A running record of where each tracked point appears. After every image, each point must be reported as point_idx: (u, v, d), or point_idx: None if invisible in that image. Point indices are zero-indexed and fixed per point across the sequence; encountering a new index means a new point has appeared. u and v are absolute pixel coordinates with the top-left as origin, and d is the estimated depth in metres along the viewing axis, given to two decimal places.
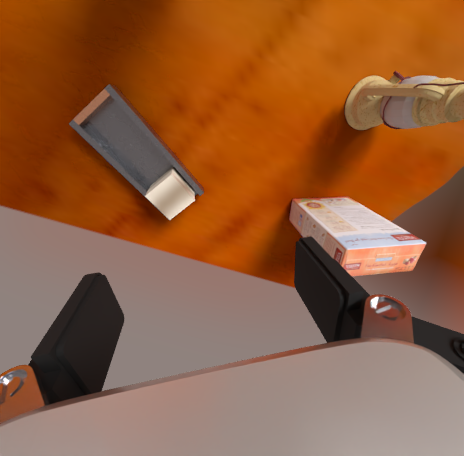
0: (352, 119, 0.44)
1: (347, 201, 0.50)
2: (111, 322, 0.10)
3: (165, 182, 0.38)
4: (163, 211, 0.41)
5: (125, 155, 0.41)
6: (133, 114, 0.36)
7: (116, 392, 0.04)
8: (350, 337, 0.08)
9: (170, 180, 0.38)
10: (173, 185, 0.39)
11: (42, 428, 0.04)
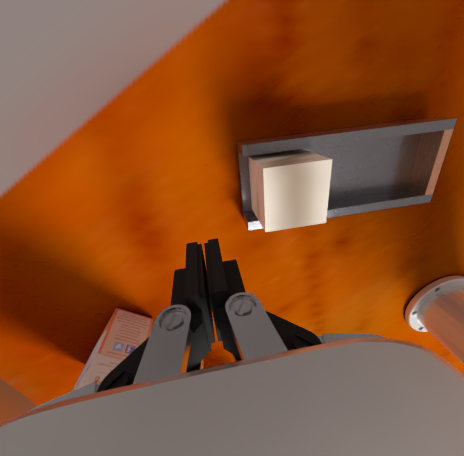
0: None
1: None
2: (208, 285, 0.11)
3: (322, 207, 0.21)
4: (286, 169, 0.19)
5: (359, 147, 0.25)
6: (392, 205, 0.26)
7: (116, 392, 0.04)
8: (221, 332, 0.08)
9: (320, 216, 0.21)
10: (310, 215, 0.21)
11: (42, 428, 0.04)
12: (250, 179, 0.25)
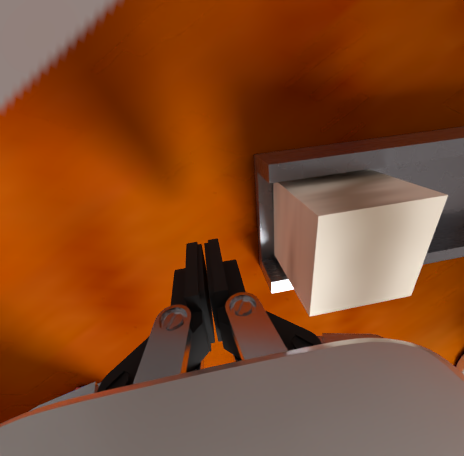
0: None
1: None
2: (208, 285, 0.11)
3: (411, 274, 0.12)
4: (361, 216, 0.10)
5: (444, 162, 0.16)
6: None
7: (116, 392, 0.04)
8: (221, 332, 0.08)
9: (403, 287, 0.12)
10: (388, 287, 0.12)
11: (42, 428, 0.04)
12: (275, 214, 0.15)
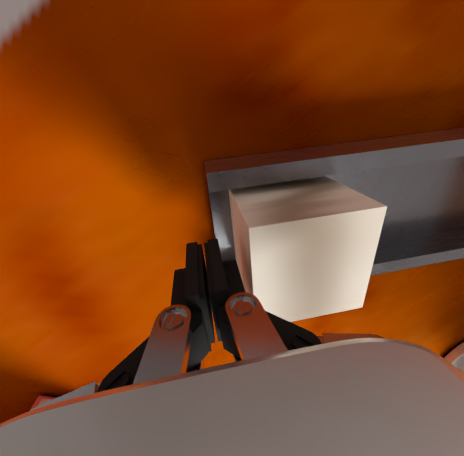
0: None
1: None
2: (208, 285, 0.11)
3: (359, 286, 0.12)
4: (295, 228, 0.09)
5: (403, 169, 0.16)
6: (449, 257, 0.17)
7: (116, 392, 0.04)
8: (221, 332, 0.08)
9: (353, 299, 0.12)
10: (336, 299, 0.12)
11: (42, 428, 0.04)
12: (232, 221, 0.15)
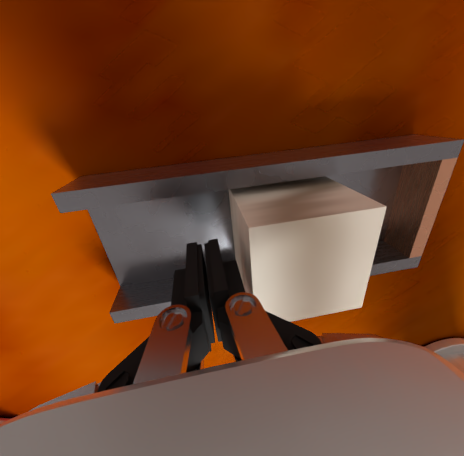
0: None
1: None
2: (208, 285, 0.11)
3: (358, 286, 0.12)
4: (295, 228, 0.09)
5: None
6: None
7: (116, 392, 0.04)
8: (220, 332, 0.08)
9: (352, 299, 0.12)
10: (336, 299, 0.12)
11: (42, 428, 0.04)
12: (232, 221, 0.15)
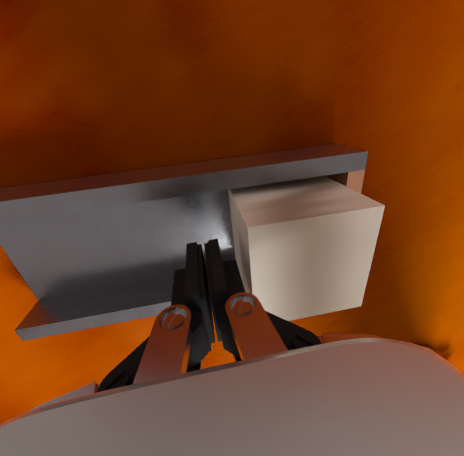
0: None
1: None
2: (208, 285, 0.11)
3: (357, 285, 0.12)
4: (294, 227, 0.09)
5: (217, 196, 0.15)
6: None
7: (116, 392, 0.04)
8: (221, 332, 0.08)
9: (352, 298, 0.12)
10: (335, 298, 0.12)
11: (42, 428, 0.04)
12: (231, 221, 0.15)
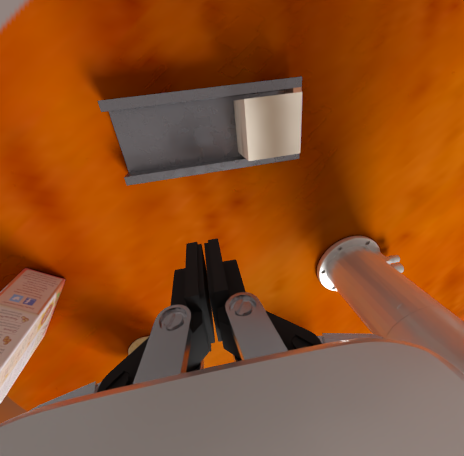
0: None
1: (37, 344, 0.36)
2: (208, 285, 0.11)
3: (296, 138, 0.25)
4: (263, 100, 0.22)
5: (227, 107, 0.28)
6: (263, 161, 0.29)
7: (116, 392, 0.04)
8: (221, 332, 0.08)
9: (294, 147, 0.25)
10: (286, 146, 0.25)
11: (42, 428, 0.04)
12: (235, 122, 0.28)
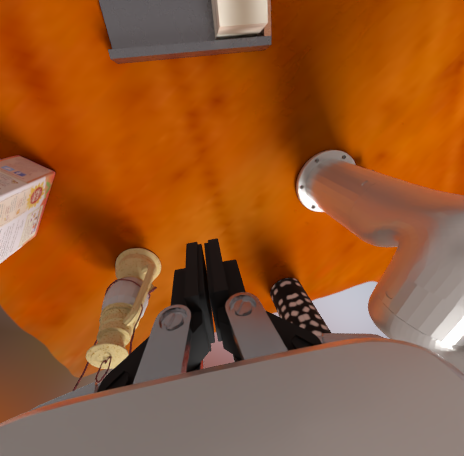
0: (130, 253, 0.46)
1: (27, 235, 0.39)
2: (208, 285, 0.11)
3: (263, 5, 0.27)
4: None
5: None
6: (237, 45, 0.31)
7: (116, 392, 0.04)
8: (221, 332, 0.08)
9: (262, 14, 0.27)
10: (254, 13, 0.27)
11: (42, 428, 0.04)
12: (212, 5, 0.31)
